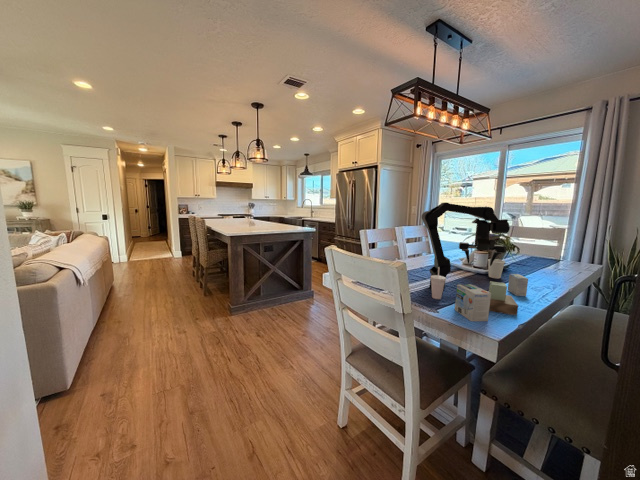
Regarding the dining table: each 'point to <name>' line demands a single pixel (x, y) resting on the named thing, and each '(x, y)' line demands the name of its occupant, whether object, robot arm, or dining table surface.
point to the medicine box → (517, 284)
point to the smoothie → (437, 285)
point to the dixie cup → (496, 268)
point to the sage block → (497, 290)
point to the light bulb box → (472, 302)
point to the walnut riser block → (504, 306)
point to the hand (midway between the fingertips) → (479, 264)
